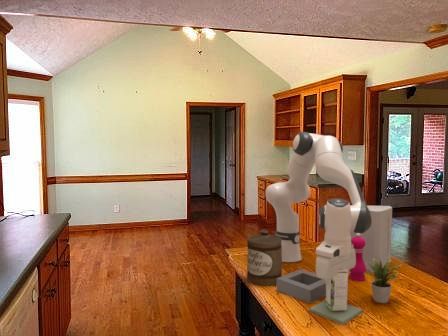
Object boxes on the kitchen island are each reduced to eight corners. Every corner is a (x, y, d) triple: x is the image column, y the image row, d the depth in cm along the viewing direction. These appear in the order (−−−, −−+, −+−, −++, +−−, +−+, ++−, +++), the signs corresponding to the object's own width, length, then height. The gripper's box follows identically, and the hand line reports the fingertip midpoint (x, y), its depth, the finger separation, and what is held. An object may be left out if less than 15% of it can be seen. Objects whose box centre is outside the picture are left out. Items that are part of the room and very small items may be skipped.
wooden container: (240, 280, 161) (240, 229, 160) (261, 271, 172) (261, 223, 171) (268, 289, 151) (268, 235, 150) (288, 279, 162) (289, 229, 161)
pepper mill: (367, 282, 159) (368, 235, 157) (349, 280, 160) (350, 234, 159) (364, 276, 166) (365, 231, 164) (347, 274, 167) (348, 230, 166)
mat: (309, 311, 132) (309, 308, 132) (329, 300, 140) (329, 298, 140) (342, 324, 122) (342, 321, 122) (362, 312, 131) (362, 309, 131)
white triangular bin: (354, 271, 172) (355, 210, 169) (347, 261, 186) (348, 205, 184) (397, 273, 169) (399, 211, 167) (387, 262, 184) (389, 206, 182)
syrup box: (325, 304, 134) (325, 264, 133) (341, 303, 134) (341, 263, 133) (331, 311, 128) (331, 269, 127) (347, 310, 129) (348, 269, 128)
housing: (276, 290, 150) (276, 278, 150) (300, 280, 161) (300, 269, 160) (310, 303, 138) (310, 290, 138) (333, 291, 149) (334, 279, 148)
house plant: (399, 313, 130) (401, 267, 129) (358, 304, 137) (359, 260, 136) (404, 298, 142) (406, 256, 141) (366, 291, 149) (367, 250, 148)
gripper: (344, 239, 139) (344, 275, 140) (312, 250, 125) (312, 290, 126) (360, 242, 134) (359, 280, 135) (329, 254, 121) (328, 296, 122)
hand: (336, 285), depth 131 cm, fingers closed on syrup box, 8 cm apart
